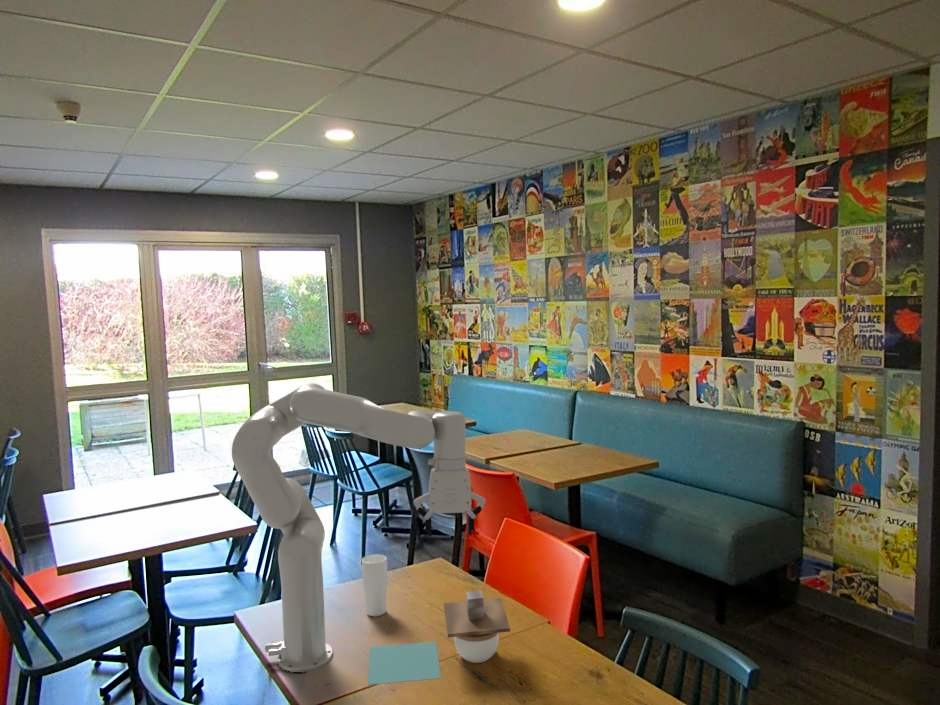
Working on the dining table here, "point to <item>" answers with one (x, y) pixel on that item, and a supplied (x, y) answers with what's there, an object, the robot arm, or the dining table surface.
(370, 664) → the teal mat
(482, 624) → the walnut cover
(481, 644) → the lidded jar
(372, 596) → the drinking glass
